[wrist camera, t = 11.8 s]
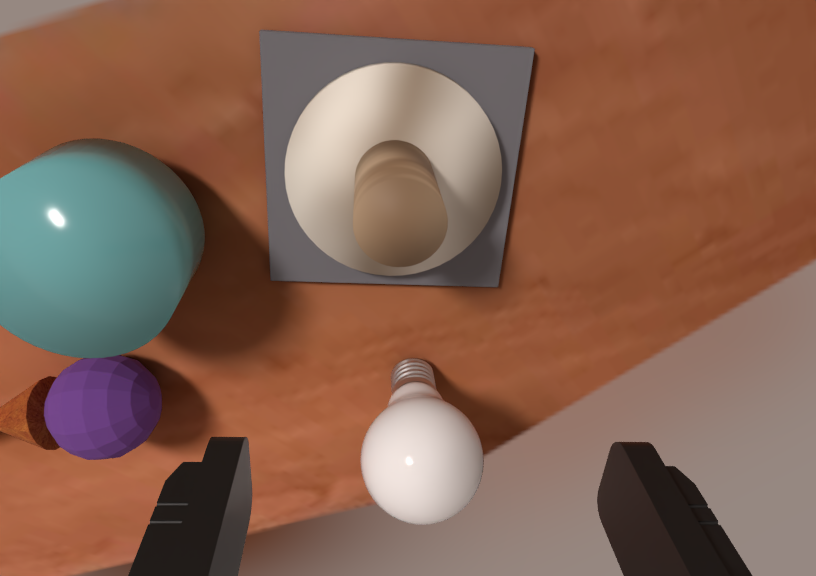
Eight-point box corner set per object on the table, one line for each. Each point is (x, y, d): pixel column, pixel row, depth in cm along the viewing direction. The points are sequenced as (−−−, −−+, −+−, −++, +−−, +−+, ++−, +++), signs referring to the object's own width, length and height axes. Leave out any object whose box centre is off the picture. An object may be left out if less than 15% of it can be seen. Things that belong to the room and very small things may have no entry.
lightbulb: (359, 329, 37) (357, 460, 27) (463, 324, 37) (498, 453, 27) (363, 411, 40) (363, 556, 30) (459, 406, 40) (490, 548, 30)
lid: (512, 68, 30) (551, 97, 23) (484, 270, 35) (509, 337, 29) (283, 54, 29) (261, 80, 22) (289, 264, 34) (272, 332, 28)
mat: (531, 47, 30) (534, 48, 29) (496, 282, 36) (497, 287, 35) (261, 29, 29) (259, 31, 28) (272, 275, 35) (270, 280, 34)
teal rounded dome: (205, 132, 31) (165, 175, 24) (219, 289, 35) (188, 360, 29) (17, 123, 30) (-72, 165, 24) (55, 285, 34) (-13, 356, 28)
